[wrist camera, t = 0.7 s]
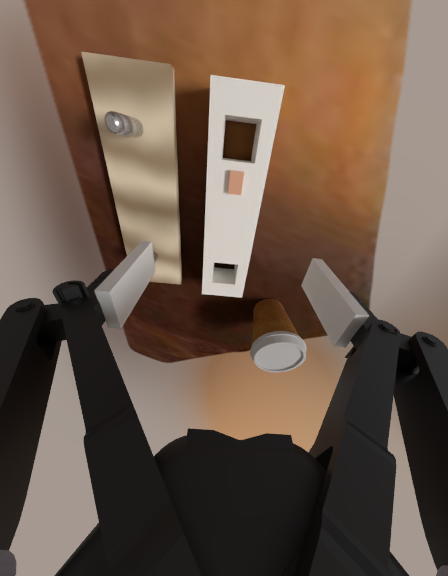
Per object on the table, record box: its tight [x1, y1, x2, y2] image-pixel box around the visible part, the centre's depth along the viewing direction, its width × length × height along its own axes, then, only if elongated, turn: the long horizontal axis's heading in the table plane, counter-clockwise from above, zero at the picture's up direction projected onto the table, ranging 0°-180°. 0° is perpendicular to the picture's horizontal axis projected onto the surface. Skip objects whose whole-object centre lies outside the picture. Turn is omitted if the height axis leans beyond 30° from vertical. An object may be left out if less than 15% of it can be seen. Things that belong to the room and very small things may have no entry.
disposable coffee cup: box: [250, 299, 307, 372], centre depth 37 cm, size 10×10×12 cm
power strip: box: [202, 75, 285, 298], centre depth 27 cm, size 26×7×6 cm, turn 174°
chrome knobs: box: [104, 111, 158, 264], centre depth 26 cm, size 19×2×7 cm, turn 174°
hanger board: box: [81, 52, 182, 284], centre depth 28 cm, size 28×9×2 cm, turn 174°
